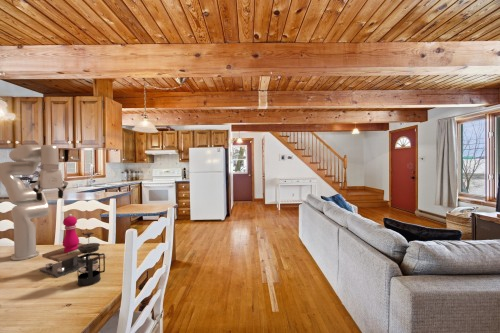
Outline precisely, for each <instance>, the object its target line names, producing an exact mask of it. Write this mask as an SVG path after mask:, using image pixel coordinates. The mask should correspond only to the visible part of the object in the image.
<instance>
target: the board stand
mask: <svg viewBox="0 0 500 333" xmlns="http://www.w3.org/2000/svg"><path fill="white" fill-rule="evenodd" d="M78 257H79V255H78V256H75V257H72V258H69V259H66V260H64V261H61V262H56V263H55V264H53V262H49V263H48V262H47V263H45V267H44V268H40V269H39V272H40V273H42V274H45V275H49V276H51V277H53V278H57V279H58V278H61V277H63V276H66V275H68V274H72V273H74V272H76V271H77V258H78ZM79 260H85V257H84V258H81V259H79ZM93 264H99V259H98V260H95V261H93ZM83 266H86V263H79V262H78V270H79V269H80V268H81V267H83Z"/></svg>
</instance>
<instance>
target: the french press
mask: <svg viewBox="0 0 500 333" xmlns="http://www.w3.org/2000/svg"><path fill="white" fill-rule="evenodd" d="M94 234H95V233H94V232H93V231H92V232H85V233H83V235H82V236H87V242H88V243H83V244H84V245H81V246H79V247H77V249H78V250H79V251H80V252H81V253H83V254H81V255H78V258H77V273H78V274H77V281H76V285H77V286H78V287H89V286H92V285H95V284H98V283H99V282H100V281H101V274H102V273H105V272H106V263H105V261H106V258H105V257H106V254H105V253H104V252H103V253H99V252H97V251H99V250H100V246H101V243H99V242H91V243H90V237H91V236H93V235H94ZM92 256H96V257H92ZM101 256H103V258H102V259H103V264H102V266H103V270H101ZM84 257H85V260H79V259H81V258H84ZM91 257H92V258H91ZM95 260H98V263H96V264H93V261H95ZM78 262H79V263H86V266H83V267H81V268H80V269H79V270H78ZM79 273H80V274H79Z"/></svg>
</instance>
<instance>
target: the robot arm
mask: <svg viewBox="0 0 500 333" xmlns="http://www.w3.org/2000/svg"><path fill="white" fill-rule="evenodd" d="M8 157H9V159H11V161H5V162H4V161H3V162H1V163H0V183H1V184H2V185H3V186H4V188H5V191H6V193H7V196H8V198H9V199H8V200H10V201H9V202H10V203H11V204H12V205H15V206H13V207H12V208H11V212H10V213H11V218H12V223H13V242H14V243H13V244H14V245H13V247H14V248H13V249H14V252H13V253H14V254H12V255H11V257H10V260H11V261H24V260H28V259H32V258H35V257H37V256H39V255H40V251H39V250H37V240H36V238H37V235H36V234H37V233H36V232H37V231H36V229H37V228H36V224H35V222H33V221H32V220H33V219H37V218H44V217H47V216H48V215H49V214H50V212H51V207H50V204H49V202H48V199H47V197H46V195H45V192H44V191H43V190H50V189H51V190H52V189H57V190H58V191H57V198H58V199H63V197H64V191H65V189H67V187H68V185H69V182H67V181H65V180H63V175H62V170H60V169H59V166H60V163H59V162H60V160H59V159H60V158H59V147H58V146H57V145H52V144H51V145H50V144H44V145H42V144H40V145H39V144H21V145H18V146H17V148H14V149H12V150H10V151H9V154H8ZM39 164H40V165H39ZM37 169H40V170H39V172H38V175H37V181H36V182H33V183H32V184H30V185H29V187H26V186H25V183H24V182H23V181H22V180H21V179H20V178H18V177H17V176H28V175H31V176H32V175H33V174H35V173H36V171H37Z"/></svg>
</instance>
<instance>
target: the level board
mask: <svg viewBox="0 0 500 333" xmlns="http://www.w3.org/2000/svg"><path fill="white" fill-rule="evenodd" d="M84 244H85V243H82V242H81V243H80V242H79V244H78V245H77V246H78V247H79V246H81V245H84ZM64 248H65V247H64V246H63V247H62V248H58V249H55V250H51V251H48V252H45V253H41V257H42V258H44V259H47V260H51V261H53V262H55V263H60V262H62V261H64V260H66V259H69V258H72V257H75V256H78V257H79V256H81V255H84V254H83V253H81V252H80V251H79V250H78V249H77V250H74V251H71V252H68V253H65V252H64Z"/></svg>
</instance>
